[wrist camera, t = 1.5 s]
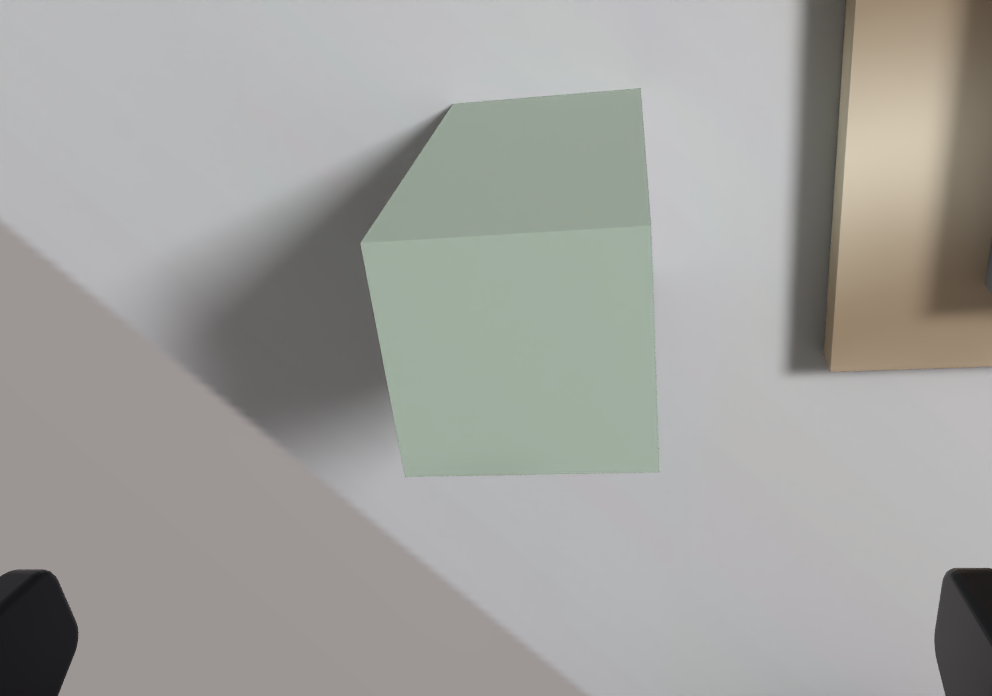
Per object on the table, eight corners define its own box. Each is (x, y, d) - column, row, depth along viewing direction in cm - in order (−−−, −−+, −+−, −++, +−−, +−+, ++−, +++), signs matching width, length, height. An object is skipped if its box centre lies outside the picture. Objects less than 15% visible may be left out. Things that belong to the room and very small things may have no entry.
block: (647, 264, 21) (659, 472, 14) (475, 273, 22) (404, 477, 15) (640, 88, 19) (650, 225, 12) (452, 104, 20) (360, 242, 13)
